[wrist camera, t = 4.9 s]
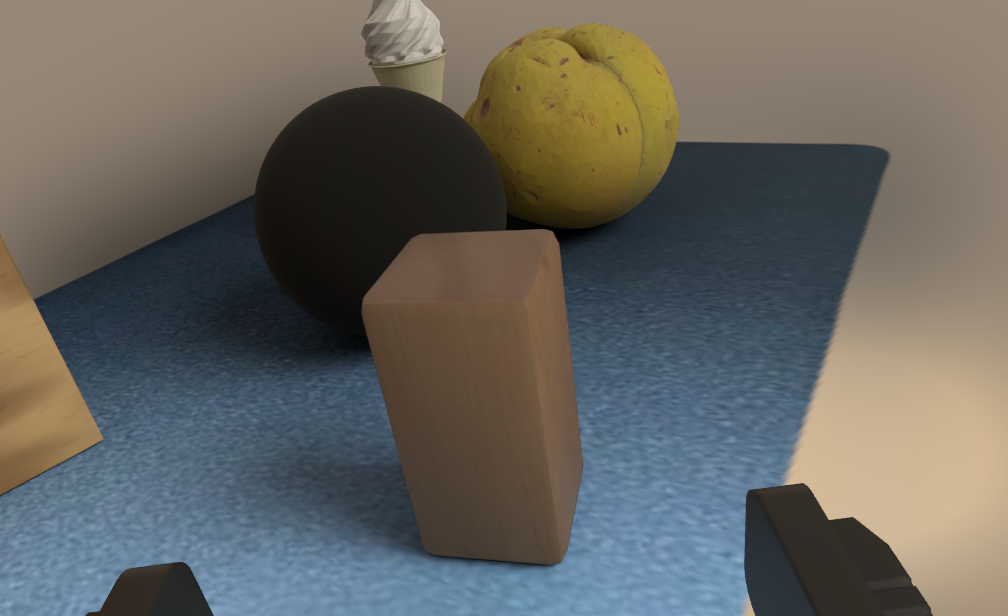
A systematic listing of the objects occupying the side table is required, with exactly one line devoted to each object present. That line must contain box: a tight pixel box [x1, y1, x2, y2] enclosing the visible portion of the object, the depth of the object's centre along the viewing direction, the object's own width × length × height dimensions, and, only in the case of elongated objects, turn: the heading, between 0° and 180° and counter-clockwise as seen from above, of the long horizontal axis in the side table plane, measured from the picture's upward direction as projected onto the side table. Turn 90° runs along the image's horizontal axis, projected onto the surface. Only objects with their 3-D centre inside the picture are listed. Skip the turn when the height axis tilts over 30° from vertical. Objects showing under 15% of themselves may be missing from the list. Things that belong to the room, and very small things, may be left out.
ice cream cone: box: [361, 0, 447, 103], centre depth 46 cm, size 5×5×15 cm
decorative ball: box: [254, 86, 507, 336], centre depth 29 cm, size 10×10×10 cm
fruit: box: [463, 23, 679, 229], centre depth 37 cm, size 11×12×10 cm
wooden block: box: [362, 229, 583, 565], centre depth 19 cm, size 4×4×8 cm
